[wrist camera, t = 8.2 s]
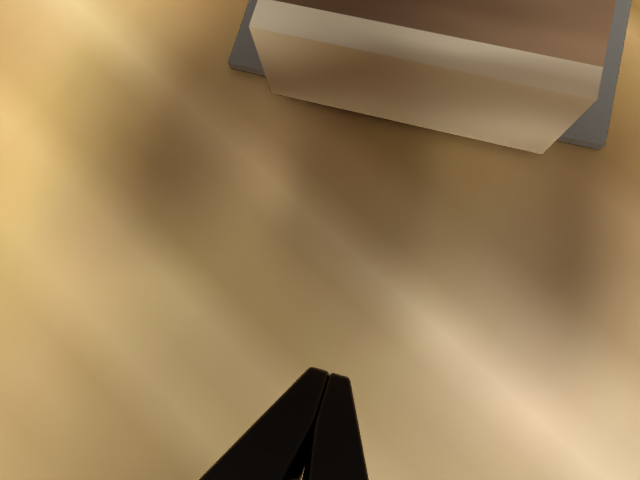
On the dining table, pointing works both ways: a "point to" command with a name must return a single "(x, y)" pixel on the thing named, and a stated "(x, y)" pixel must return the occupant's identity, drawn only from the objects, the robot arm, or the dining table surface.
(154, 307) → the dining table surface
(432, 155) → the dining table surface
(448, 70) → the walnut block
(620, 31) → the mat
